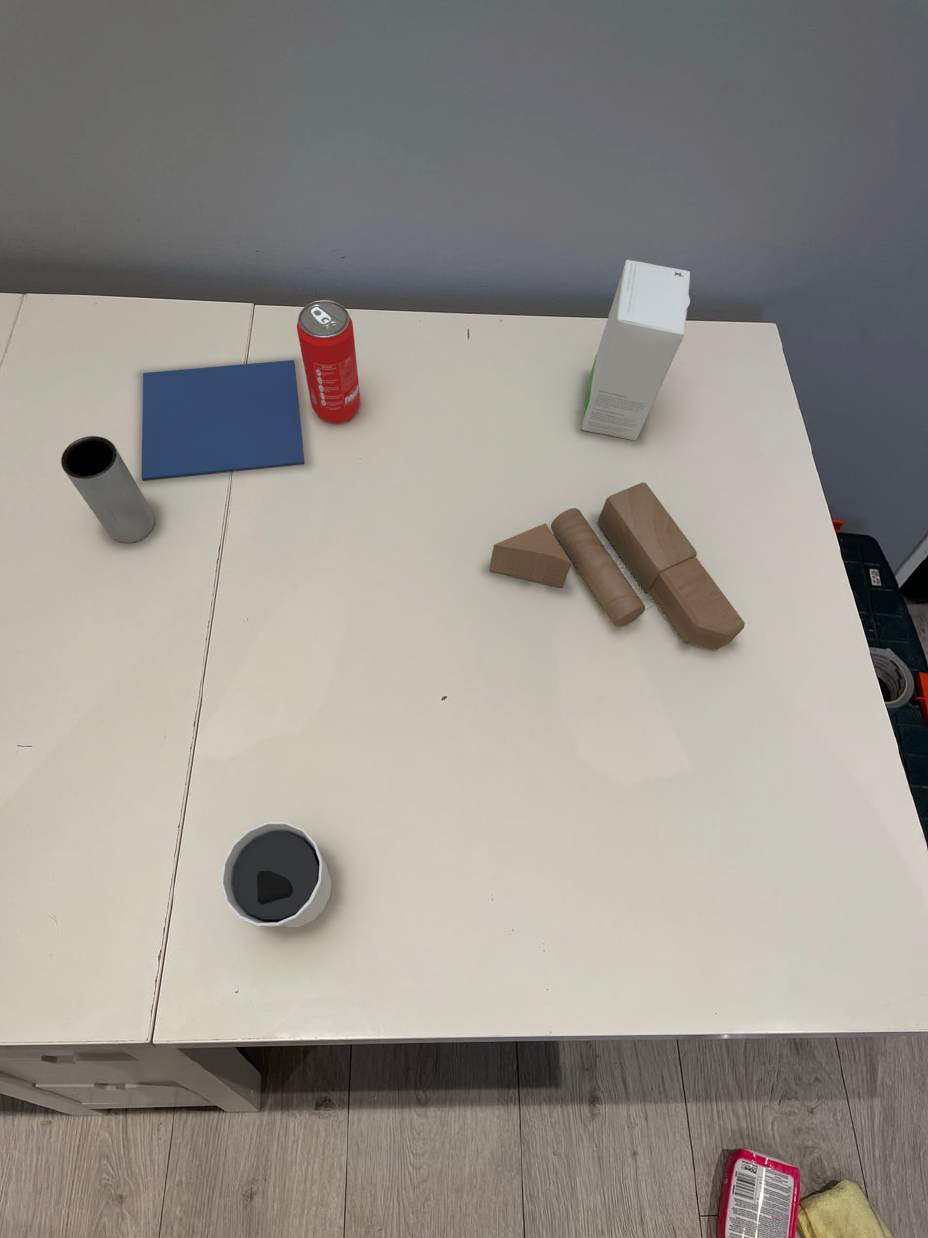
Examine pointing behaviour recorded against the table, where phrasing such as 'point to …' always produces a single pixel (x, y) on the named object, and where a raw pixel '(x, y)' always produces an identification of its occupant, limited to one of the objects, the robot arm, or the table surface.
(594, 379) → the cosmetic box
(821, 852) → the table surface
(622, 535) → the wooden block set
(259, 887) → the white cup
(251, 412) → the cloth mat
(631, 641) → the table surface
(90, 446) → the gray tube
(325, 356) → the beverage can
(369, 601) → the table surface
